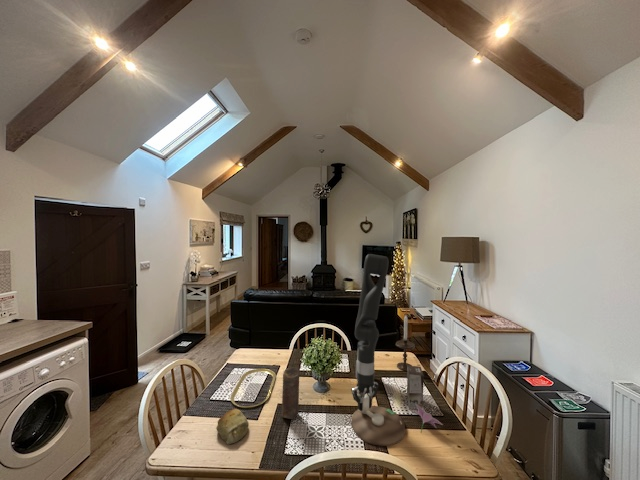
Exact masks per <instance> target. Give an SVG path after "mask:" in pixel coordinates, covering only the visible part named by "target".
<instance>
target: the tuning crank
mask: <svg viewBox="0 0 640 480" xmlns="http://www.w3.org/2000/svg"><path fill="white" fill-rule="evenodd" d="M362 403H363V409H362V411H360V412H361V413H363V414H367V415H368V416H370V417H371V418H372V423H373V424H374V425H377V426H381V425H383V424H384V417H383V415H381V414H379V413H374V414H373V413H372V412H370V411H369V396H368V395H367V394H365V396H364V398H363V401H362Z"/></svg>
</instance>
